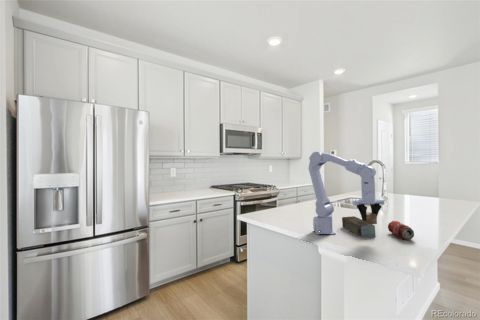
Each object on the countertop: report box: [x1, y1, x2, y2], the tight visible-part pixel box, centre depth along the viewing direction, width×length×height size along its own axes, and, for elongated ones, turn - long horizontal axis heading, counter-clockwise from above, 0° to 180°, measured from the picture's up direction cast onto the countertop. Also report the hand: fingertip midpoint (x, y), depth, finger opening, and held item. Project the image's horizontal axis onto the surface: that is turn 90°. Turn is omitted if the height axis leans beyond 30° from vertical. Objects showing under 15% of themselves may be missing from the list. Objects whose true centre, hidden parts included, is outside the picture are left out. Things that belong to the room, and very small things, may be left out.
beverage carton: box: [341, 215, 376, 238], centre depth 127 cm, size 8×19×7 cm, turn 4°
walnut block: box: [361, 211, 378, 225], centre depth 111 cm, size 4×4×4 cm
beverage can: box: [387, 220, 415, 241], centre depth 116 cm, size 7×12×7 cm, turn 174°
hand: (369, 219), depth 111 cm, fingers closed on walnut block, 4 cm apart
